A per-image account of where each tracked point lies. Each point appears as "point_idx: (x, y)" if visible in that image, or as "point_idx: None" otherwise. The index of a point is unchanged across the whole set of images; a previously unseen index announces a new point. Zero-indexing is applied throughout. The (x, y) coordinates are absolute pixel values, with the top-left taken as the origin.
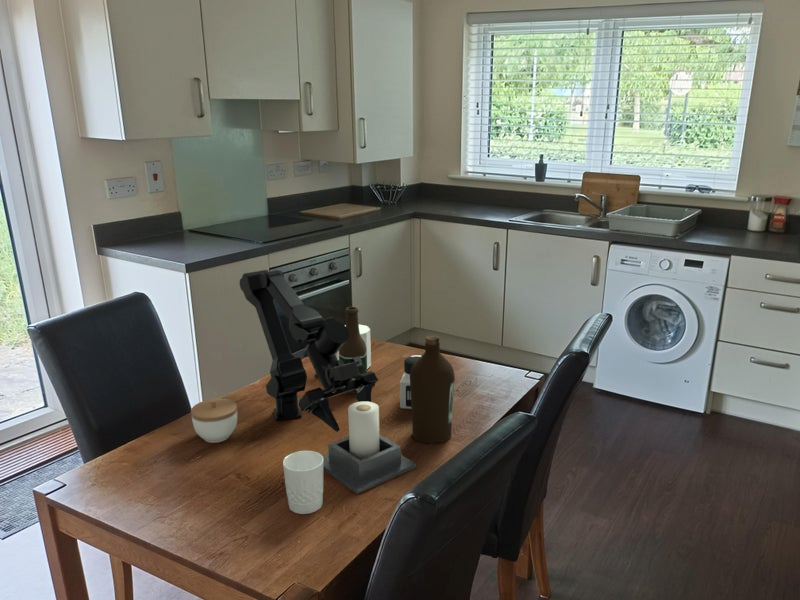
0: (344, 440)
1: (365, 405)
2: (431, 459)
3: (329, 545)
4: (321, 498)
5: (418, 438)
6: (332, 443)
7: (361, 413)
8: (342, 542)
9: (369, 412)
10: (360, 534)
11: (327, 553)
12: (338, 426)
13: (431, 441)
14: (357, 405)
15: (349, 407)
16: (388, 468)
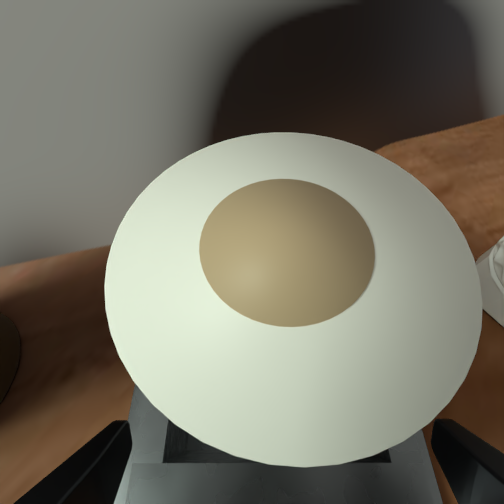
0: (329, 469)
1: (230, 269)
2: (104, 262)
3: (481, 161)
4: (491, 249)
5: (8, 371)
6: (408, 489)
7: (366, 169)
8: (454, 157)
9: (292, 148)
10: (414, 156)
11: (489, 150)
12: (455, 437)
13: (10, 324)
14: (309, 344)
15: (446, 368)
16: None
